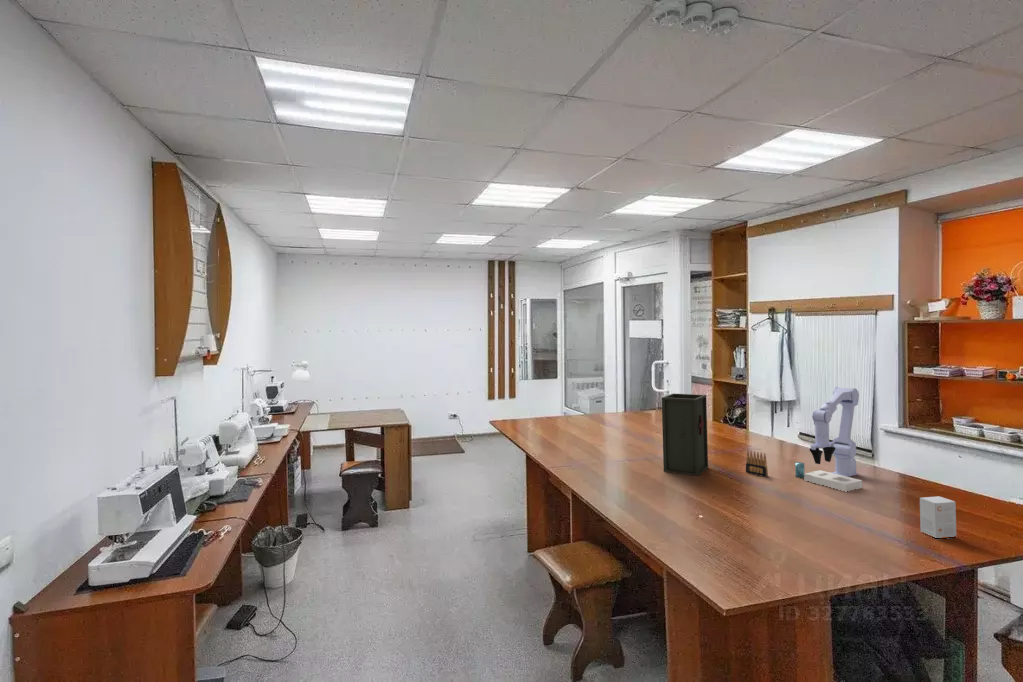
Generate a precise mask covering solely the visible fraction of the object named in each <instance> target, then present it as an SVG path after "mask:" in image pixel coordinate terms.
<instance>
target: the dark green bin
mask: <svg viewBox="0 0 1023 682" xmlns="http://www.w3.org/2000/svg"><path fill="white" fill-rule="evenodd" d="M707 411H708V410H707V395H706V394H690V393H671V394H668V395H665V396H663V397H661V421H662V424H661V425H662V453H663V454H662V457H663V462H662V463H663V464H662V465H663V472H666V471H670V472H669V473H673V472H677V473H676V474H680V473H682V474H681V475H687V474H689V475H688V476H694V475H697V476H696V477H700V476H701V475H700V474H701V473H702V472H703V473H704V472H705V471H706V470H708V468H709V450H708V412H707ZM703 473H702V474H703Z"/></svg>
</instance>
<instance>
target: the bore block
mask: <svg viewBox="0 0 1023 682" xmlns="http://www.w3.org/2000/svg"><path fill="white" fill-rule="evenodd" d="M804 480H805V481H804ZM803 481H804V482H807V481H809V482H808V483H811V482H812V483H811V484H814V483H816V484H815V485H818V484H820V485H819V486H822V485H824V486H823V487H825V486H828V487H827V488H829V487H831V488H830V489H833V488H835V489H834V490H836V489H838V490H837V491H840V490H841V492H844V491H845V493H848V492H852V491H855V490H854V489H856V490H859V489H863V480H862V479H858V478H854V477H851V476H849V477H846V476H842V475H838V474H834V473H831V472H829V471H825V470H821V469H820V470H814V471H810V472H805V474H804V478H803ZM851 490H852V491H851ZM847 491H848V492H847Z"/></svg>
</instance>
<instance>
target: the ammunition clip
mask: <svg viewBox="0 0 1023 682" xmlns="http://www.w3.org/2000/svg"><path fill="white" fill-rule="evenodd" d="M767 462H768V461H767V455H766V453H765V452H764V453H763V452H762V451H761V452H760V453H759V451H752V450H750V451H749V449H747V450H746V462H745V473H746V472H748V474H751V473H752V475H755V474H757V475H756V476H760V475H762V477H765V476H766V477H768V476H769V472H768V466H767V465H768V463H767Z"/></svg>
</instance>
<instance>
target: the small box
mask: <svg viewBox="0 0 1023 682" xmlns="http://www.w3.org/2000/svg"><path fill="white" fill-rule="evenodd" d="M956 506H957V504H956V501H955V500H952V499H949V498H946V497H943V496H938V495H937V496H927V497H926V496H925V497H919V518H920V519H919V521H920V522H919V523H920V524H919V525H920V533H921V532H924V533H926V534H928V535H931V536H933V537H935V538H942V537H954V536H956V537H957V513H956V512H957V510H956V509H957V507H956Z"/></svg>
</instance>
